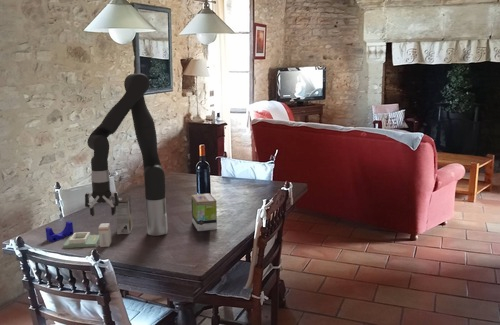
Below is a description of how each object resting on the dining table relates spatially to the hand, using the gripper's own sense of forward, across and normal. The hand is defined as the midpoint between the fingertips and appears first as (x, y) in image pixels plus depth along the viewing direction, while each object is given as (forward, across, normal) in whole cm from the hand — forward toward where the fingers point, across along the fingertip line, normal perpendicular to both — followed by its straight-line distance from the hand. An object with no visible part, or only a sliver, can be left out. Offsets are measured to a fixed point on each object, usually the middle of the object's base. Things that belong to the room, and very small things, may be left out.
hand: (103, 215), depth 217 cm
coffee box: (+14, -6, -17) cm, 23 cm away
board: (+14, +11, -4) cm, 18 cm away
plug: (+14, 0, 0) cm, 14 cm away
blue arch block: (+14, +22, -12) cm, 29 cm away
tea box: (+13, -45, -19) cm, 50 cm away
